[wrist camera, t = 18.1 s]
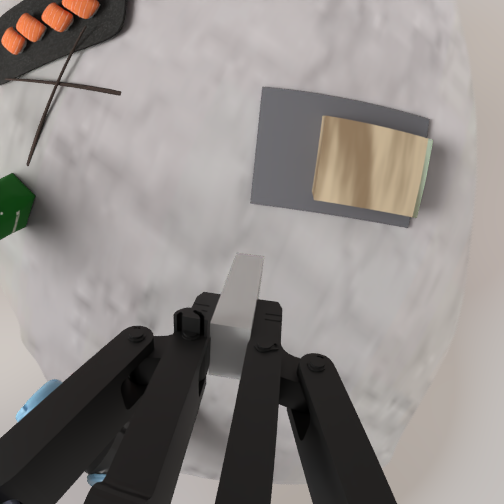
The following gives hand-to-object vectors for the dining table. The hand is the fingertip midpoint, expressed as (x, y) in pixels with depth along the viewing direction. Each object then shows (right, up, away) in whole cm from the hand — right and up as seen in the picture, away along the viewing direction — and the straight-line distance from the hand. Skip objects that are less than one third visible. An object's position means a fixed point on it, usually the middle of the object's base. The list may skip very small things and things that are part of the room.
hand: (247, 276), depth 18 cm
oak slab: (+7, +12, +15) cm, 20 cm away
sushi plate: (-30, +29, +16) cm, 45 cm away
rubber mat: (+11, +12, +17) cm, 24 cm away
